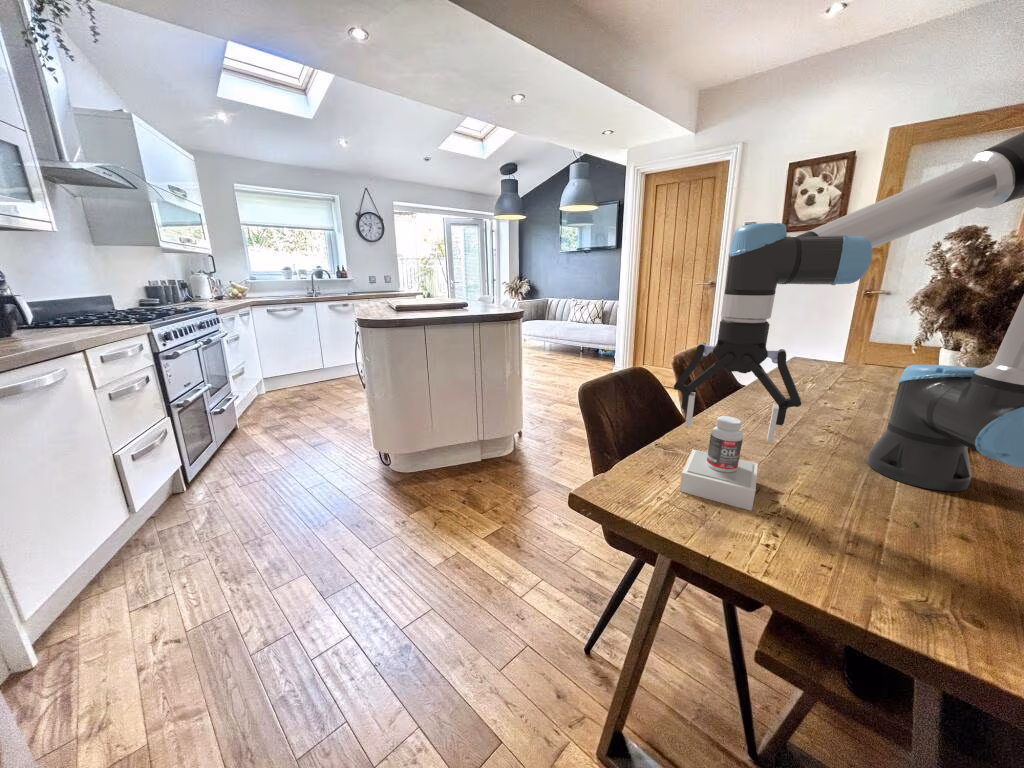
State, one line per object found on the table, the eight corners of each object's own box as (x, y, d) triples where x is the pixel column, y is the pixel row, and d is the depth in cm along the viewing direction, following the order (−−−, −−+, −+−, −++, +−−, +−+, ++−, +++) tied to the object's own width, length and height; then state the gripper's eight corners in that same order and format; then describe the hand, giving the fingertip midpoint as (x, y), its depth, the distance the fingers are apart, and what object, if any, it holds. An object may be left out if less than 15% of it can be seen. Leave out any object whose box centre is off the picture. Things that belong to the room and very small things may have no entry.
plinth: (754, 481, 79) (758, 462, 78) (751, 510, 69) (755, 489, 68) (690, 466, 85) (692, 447, 84) (679, 491, 75) (682, 471, 74)
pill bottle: (721, 475, 73) (729, 426, 70) (699, 462, 78) (706, 416, 75) (744, 471, 74) (752, 422, 71) (721, 458, 79) (729, 413, 76)
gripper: (833, 321, 65) (807, 440, 70) (673, 314, 78) (662, 414, 83) (839, 326, 58) (810, 455, 64) (665, 317, 71) (654, 425, 77)
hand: (727, 432), depth 74 cm, fingers open, 13 cm apart
